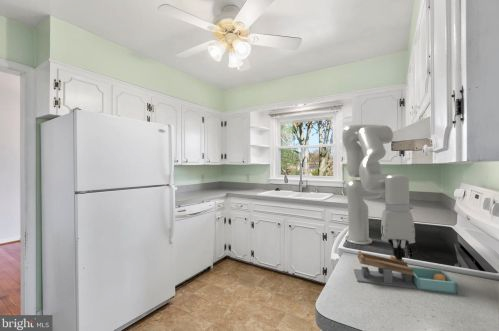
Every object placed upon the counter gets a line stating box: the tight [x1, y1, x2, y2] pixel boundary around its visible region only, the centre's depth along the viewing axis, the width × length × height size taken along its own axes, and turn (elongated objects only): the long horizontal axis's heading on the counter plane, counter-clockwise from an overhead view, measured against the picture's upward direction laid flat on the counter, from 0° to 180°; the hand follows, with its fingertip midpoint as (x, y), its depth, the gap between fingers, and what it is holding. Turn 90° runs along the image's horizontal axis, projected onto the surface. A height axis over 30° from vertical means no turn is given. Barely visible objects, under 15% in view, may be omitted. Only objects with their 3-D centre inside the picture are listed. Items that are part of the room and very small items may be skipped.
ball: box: [434, 274, 446, 281], centre depth 75 cm, size 3×3×3 cm
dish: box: [408, 266, 459, 295], centre depth 76 cm, size 9×10×3 cm
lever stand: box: [353, 266, 418, 290], centre depth 80 cm, size 9×17×5 cm, turn 73°
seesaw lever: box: [357, 250, 414, 276], centre depth 83 cm, size 13×16×3 cm
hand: (398, 257), depth 86 cm, fingers closed
